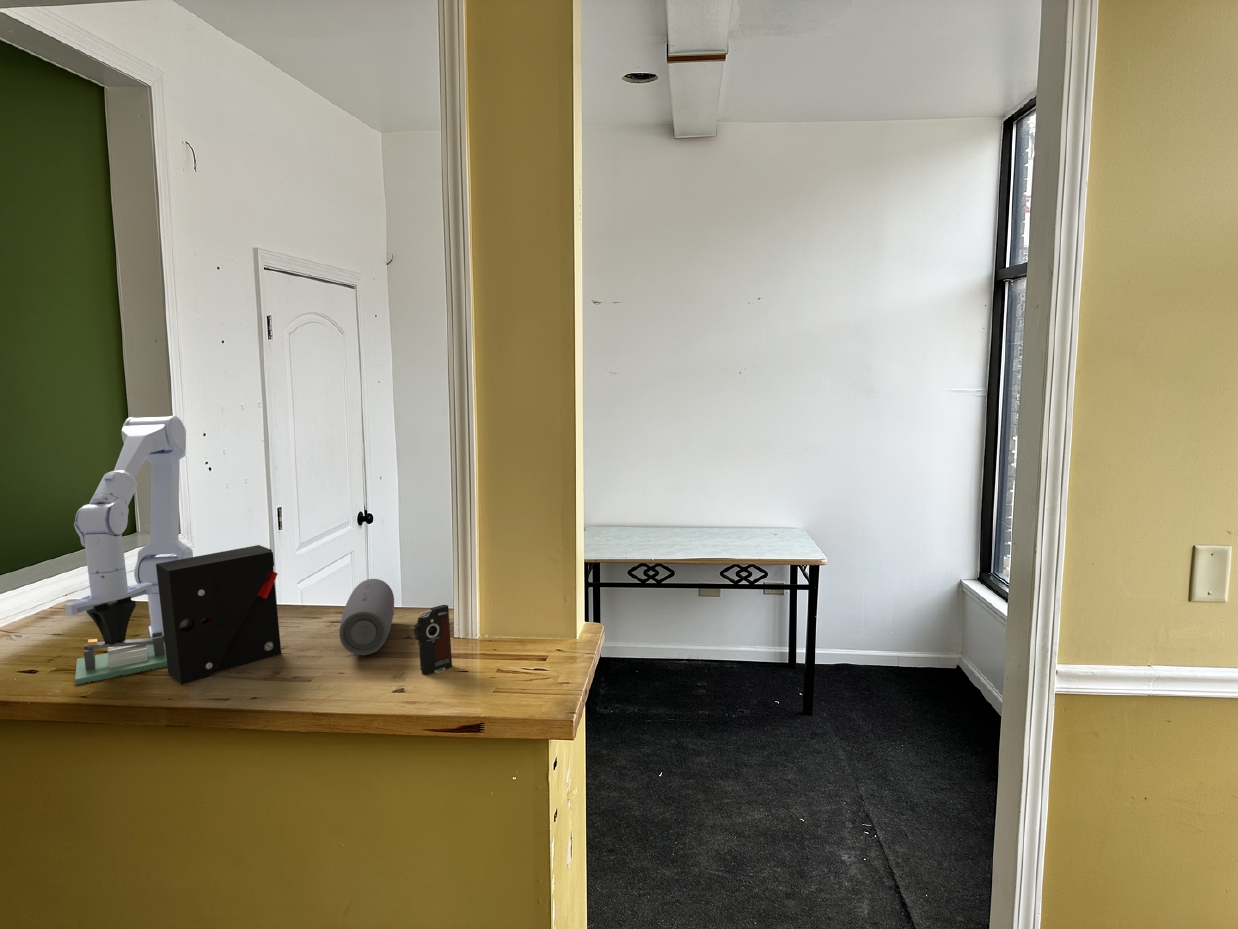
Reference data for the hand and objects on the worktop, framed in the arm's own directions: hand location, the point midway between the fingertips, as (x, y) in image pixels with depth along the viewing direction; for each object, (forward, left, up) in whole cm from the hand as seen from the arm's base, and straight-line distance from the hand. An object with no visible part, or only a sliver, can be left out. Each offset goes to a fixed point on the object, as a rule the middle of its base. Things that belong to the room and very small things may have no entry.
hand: (115, 642), depth 147 cm
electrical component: (-17, +11, -5) cm, 20 cm away
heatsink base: (-2, 0, -5) cm, 5 cm away
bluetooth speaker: (-42, +15, -5) cm, 45 cm away
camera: (-47, +38, -5) cm, 60 cm away
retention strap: (-1, 0, -1) cm, 2 cm away
